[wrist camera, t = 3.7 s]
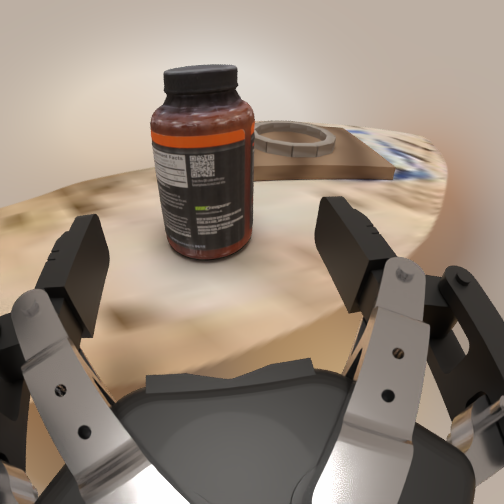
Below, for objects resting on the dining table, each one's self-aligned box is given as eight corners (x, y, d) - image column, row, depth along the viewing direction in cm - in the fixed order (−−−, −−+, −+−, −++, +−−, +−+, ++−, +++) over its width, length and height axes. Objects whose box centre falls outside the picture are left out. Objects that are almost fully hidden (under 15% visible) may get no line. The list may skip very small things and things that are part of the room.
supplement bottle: (222, 204, 24) (220, 62, 17) (270, 241, 20) (281, 67, 13) (153, 230, 21) (132, 72, 14) (192, 277, 18) (173, 74, 10)
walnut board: (204, 184, 27) (203, 156, 25) (201, 138, 38) (200, 119, 36) (392, 179, 30) (397, 157, 28) (341, 137, 40) (343, 120, 39)
